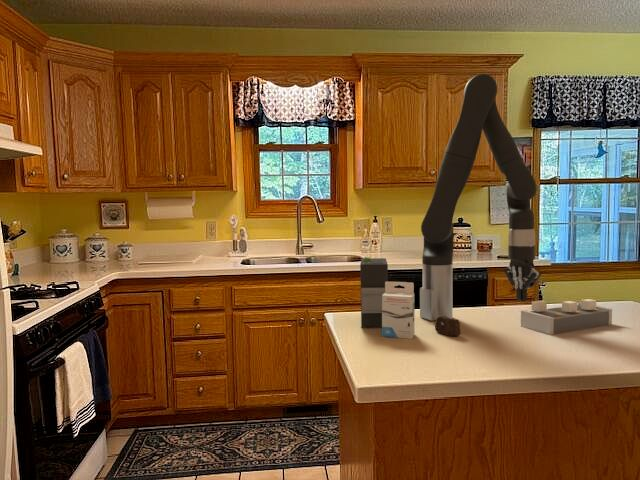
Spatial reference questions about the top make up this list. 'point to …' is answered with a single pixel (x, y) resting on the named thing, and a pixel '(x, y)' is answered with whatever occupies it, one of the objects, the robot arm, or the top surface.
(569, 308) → the switch
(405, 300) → the ink box
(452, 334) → the stone
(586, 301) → the switch
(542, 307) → the switch
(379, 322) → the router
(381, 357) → the top surface
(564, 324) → the power strip
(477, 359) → the top surface
